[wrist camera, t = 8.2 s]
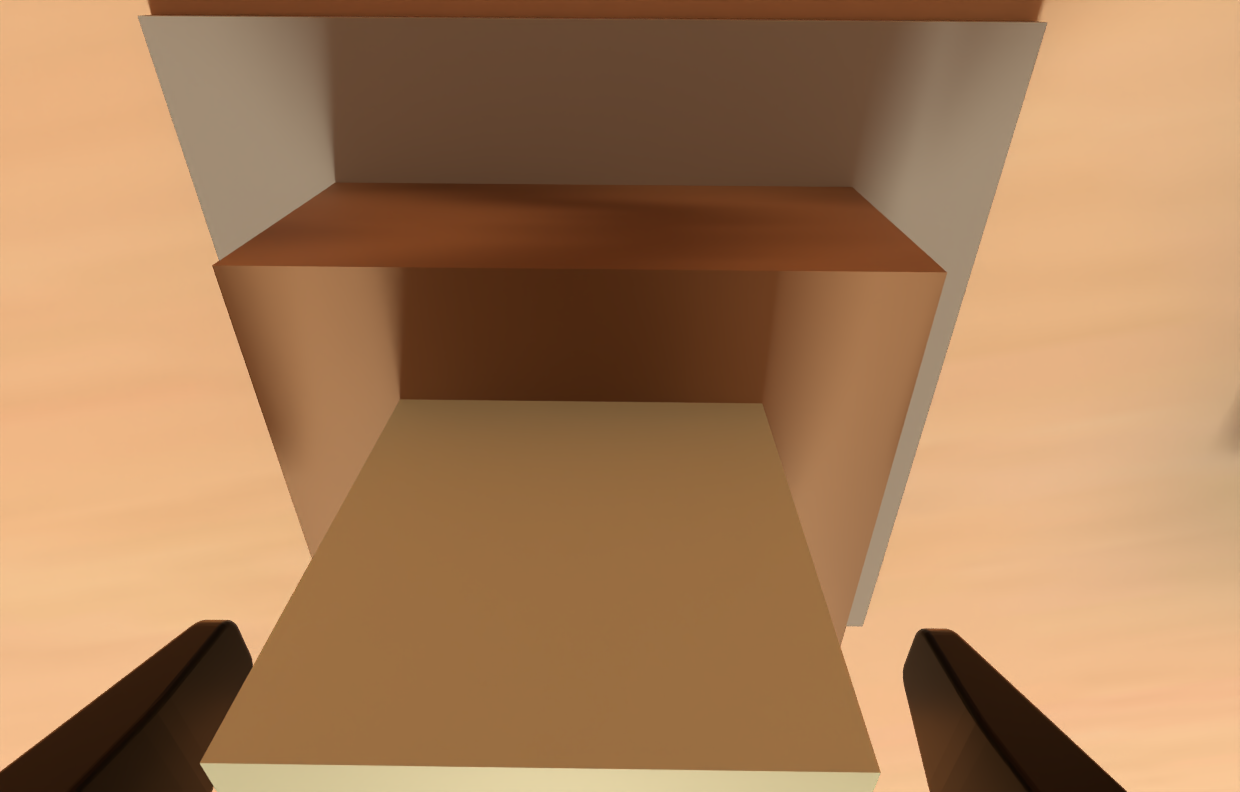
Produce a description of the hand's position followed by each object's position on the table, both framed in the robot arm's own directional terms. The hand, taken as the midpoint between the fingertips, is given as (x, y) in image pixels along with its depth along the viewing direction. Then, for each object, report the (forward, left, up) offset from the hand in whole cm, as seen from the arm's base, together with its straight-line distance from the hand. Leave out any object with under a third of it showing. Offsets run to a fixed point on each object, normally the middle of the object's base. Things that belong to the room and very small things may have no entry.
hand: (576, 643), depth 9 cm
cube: (0, 0, -2) cm, 2 cm away
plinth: (0, 0, -6) cm, 6 cm away
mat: (0, 0, -6) cm, 6 cm away
